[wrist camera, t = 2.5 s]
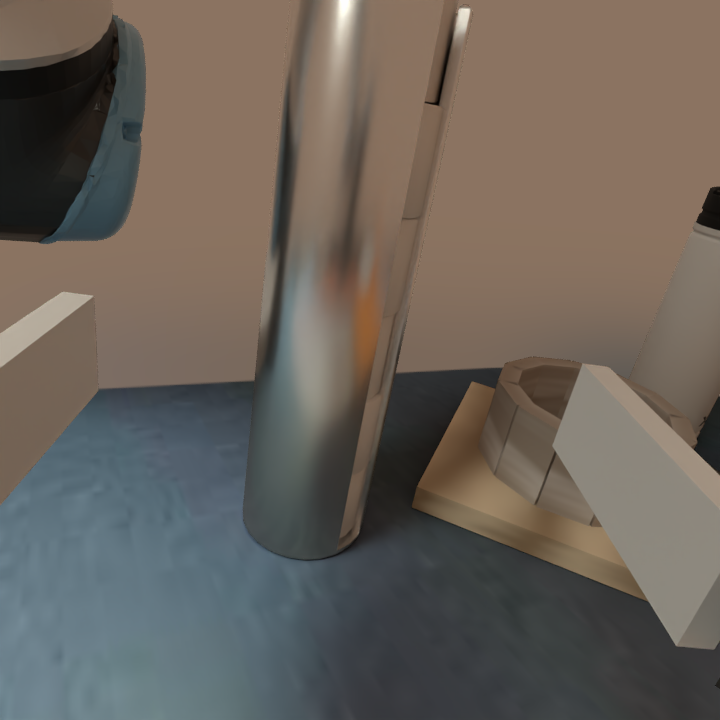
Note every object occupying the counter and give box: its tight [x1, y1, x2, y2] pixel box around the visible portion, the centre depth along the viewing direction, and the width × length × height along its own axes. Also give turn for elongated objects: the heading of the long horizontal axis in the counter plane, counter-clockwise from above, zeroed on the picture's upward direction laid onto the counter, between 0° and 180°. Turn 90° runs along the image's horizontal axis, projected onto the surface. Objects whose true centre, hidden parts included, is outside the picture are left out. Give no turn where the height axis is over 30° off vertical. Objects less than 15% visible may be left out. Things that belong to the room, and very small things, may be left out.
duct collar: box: [412, 357, 697, 602], centre depth 35 cm, size 16×16×6 cm
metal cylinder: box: [243, 0, 473, 560], centre depth 24 cm, size 6×6×25 cm
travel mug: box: [628, 187, 720, 439], centre depth 41 cm, size 6×7×20 cm
